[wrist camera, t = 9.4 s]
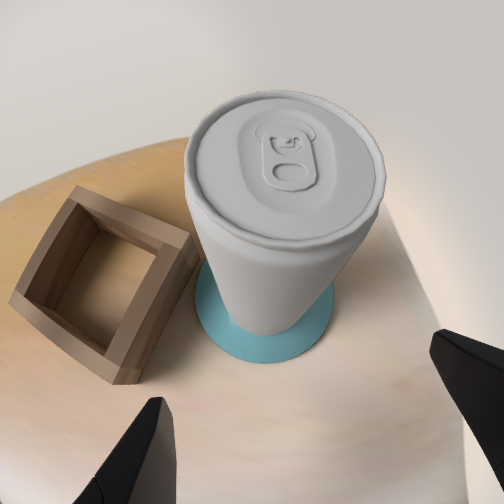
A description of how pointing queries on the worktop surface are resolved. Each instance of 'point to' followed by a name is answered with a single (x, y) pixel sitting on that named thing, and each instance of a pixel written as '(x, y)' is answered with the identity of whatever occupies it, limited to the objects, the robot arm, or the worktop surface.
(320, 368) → the worktop surface
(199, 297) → the teal disc
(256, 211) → the beverage can
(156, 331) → the square wooden frame
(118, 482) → the robot arm
